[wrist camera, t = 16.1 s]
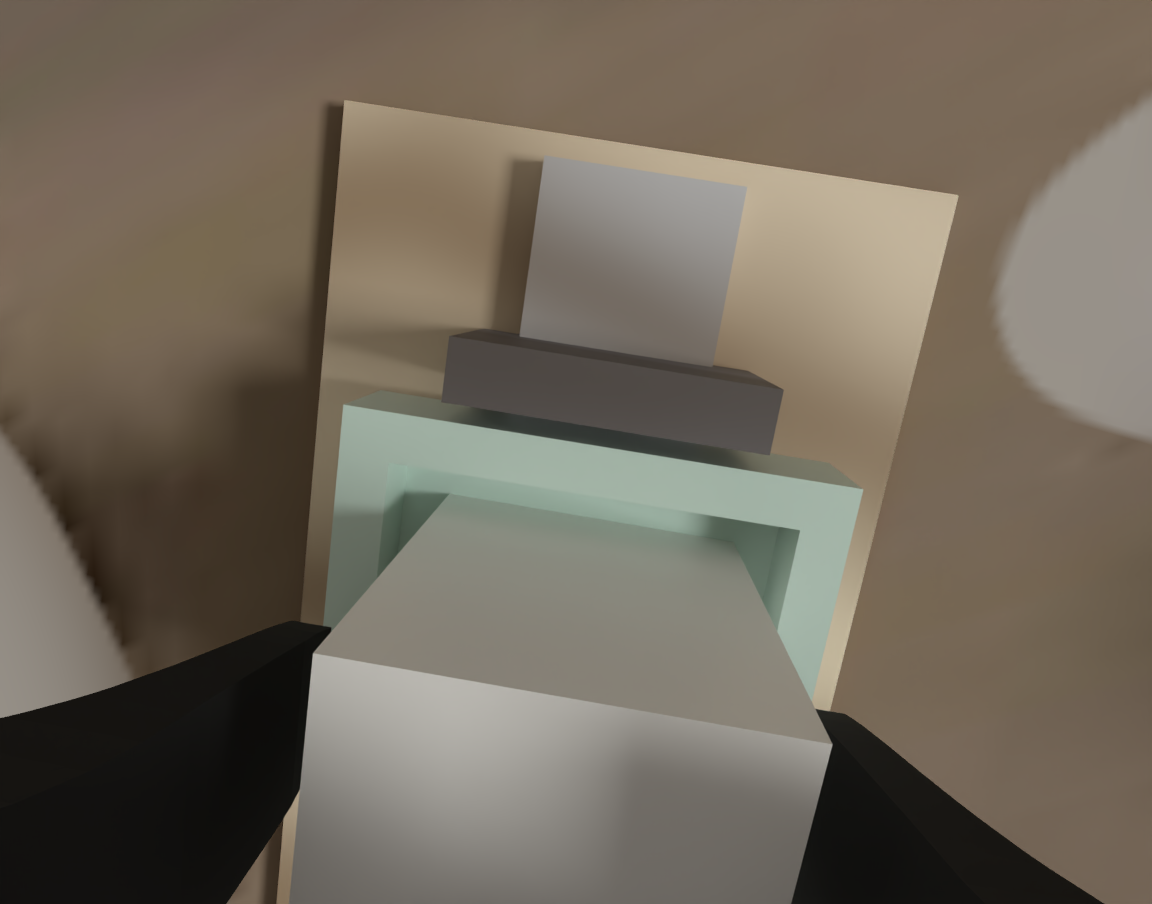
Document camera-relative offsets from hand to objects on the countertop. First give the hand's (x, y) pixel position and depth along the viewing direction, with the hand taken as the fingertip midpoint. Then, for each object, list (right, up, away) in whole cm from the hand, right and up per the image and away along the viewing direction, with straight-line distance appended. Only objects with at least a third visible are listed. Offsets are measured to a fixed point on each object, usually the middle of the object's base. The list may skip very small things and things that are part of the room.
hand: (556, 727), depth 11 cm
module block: (0, +1, +2) cm, 2 cm away
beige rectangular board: (0, -1, +5) cm, 5 cm away
